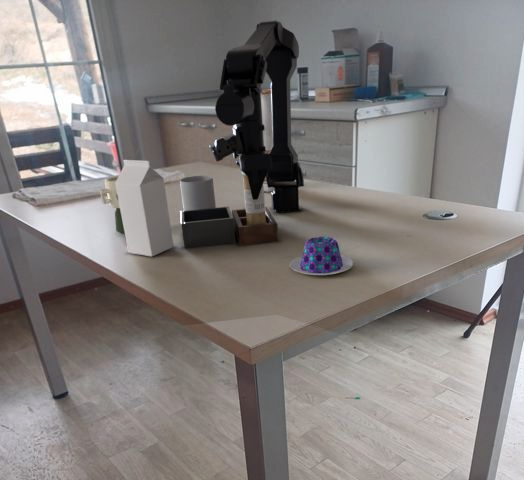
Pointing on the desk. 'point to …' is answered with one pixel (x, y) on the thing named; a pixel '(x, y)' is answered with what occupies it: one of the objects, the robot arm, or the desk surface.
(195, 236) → the dark grey open box
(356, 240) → the desk surface
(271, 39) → the robot arm
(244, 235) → the rack
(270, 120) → the fruit juice
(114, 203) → the character mug
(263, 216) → the sprinkles bottle
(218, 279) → the desk surface
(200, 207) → the cup
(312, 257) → the purple bucket hat
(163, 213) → the milk carton
